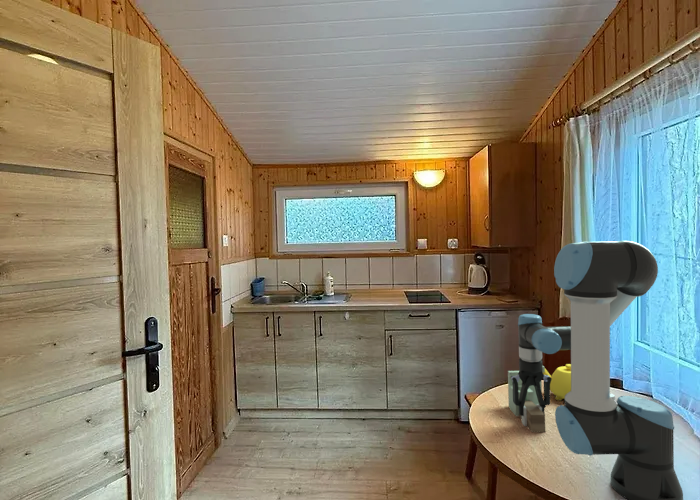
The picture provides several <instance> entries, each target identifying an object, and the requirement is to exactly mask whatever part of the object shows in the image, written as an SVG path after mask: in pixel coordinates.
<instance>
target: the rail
mask: <svg viewBox="0 0 700 500" xmlns="http://www.w3.org/2000/svg"><path fill="white" fill-rule="evenodd" d="M524 406H525V407H526V415H527V426H526V428H527V429H528V430H529V431H530V432H531V433H546V413H545V412H544V413H545V414H544V413H543V412H542V411H541V410H540V409H539V408H538V407H537V406H536V405H535V404H534V403H533V402H532V401H525V404H524ZM518 417H519V418H520V420H521V421H522V416H521V415H520V414H519V416H518Z"/></svg>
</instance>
